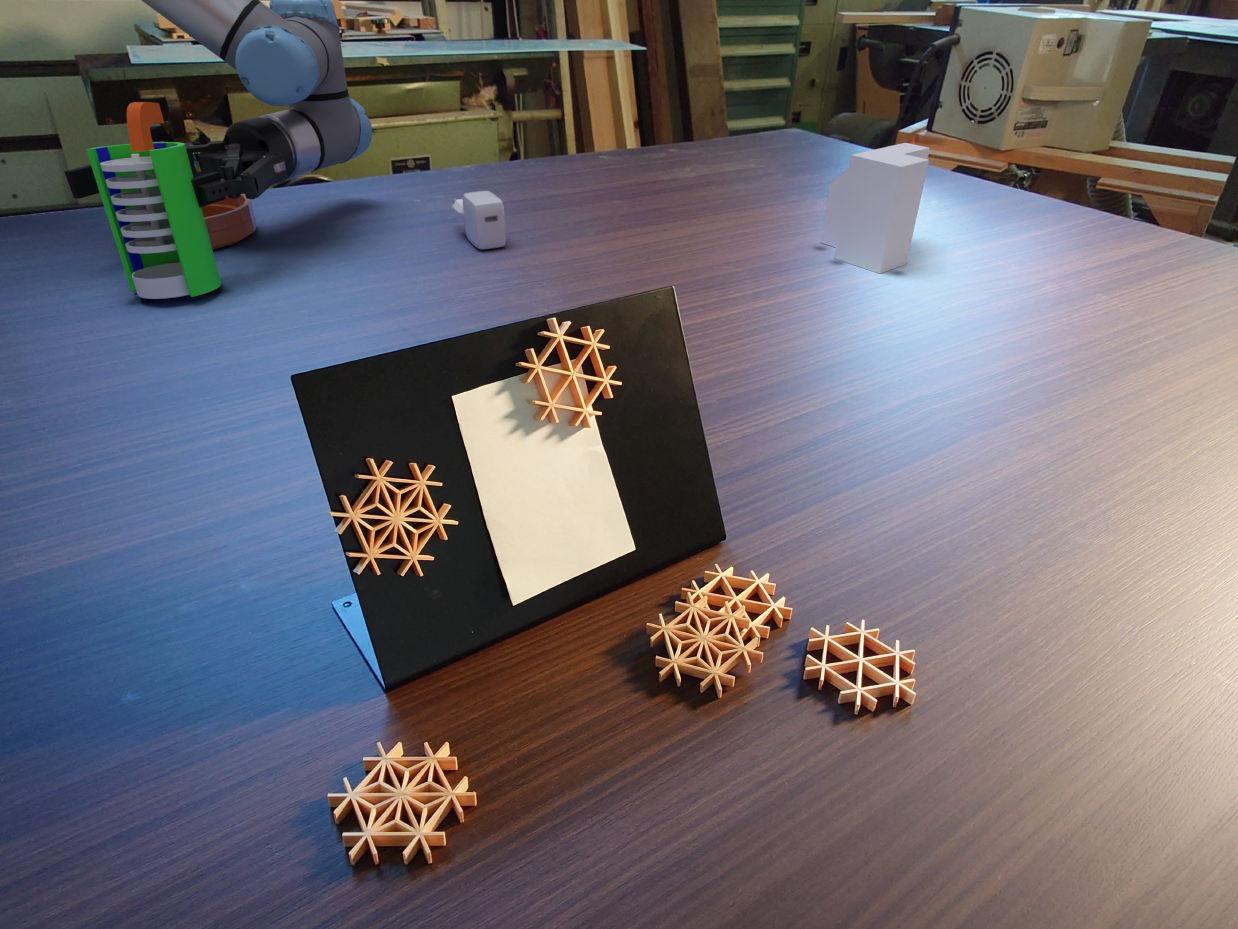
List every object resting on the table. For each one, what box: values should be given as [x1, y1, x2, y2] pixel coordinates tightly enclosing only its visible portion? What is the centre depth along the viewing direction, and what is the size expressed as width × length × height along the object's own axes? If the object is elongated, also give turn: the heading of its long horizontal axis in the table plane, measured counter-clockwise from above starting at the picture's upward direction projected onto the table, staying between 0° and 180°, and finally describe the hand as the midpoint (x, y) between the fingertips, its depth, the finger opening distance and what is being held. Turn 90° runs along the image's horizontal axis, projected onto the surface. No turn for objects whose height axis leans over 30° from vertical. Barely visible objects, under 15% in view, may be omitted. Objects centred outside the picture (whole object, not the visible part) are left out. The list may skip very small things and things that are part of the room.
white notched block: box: [820, 142, 931, 274], centre depth 97 cm, size 11×11×12 cm
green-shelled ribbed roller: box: [85, 101, 222, 300], centre depth 82 cm, size 9×8×18 cm
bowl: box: [201, 194, 258, 250], centre depth 100 cm, size 14×14×4 cm
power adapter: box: [452, 190, 507, 250], centre depth 101 cm, size 11×5×6 cm, turn 26°
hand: (118, 193), depth 81 cm, fingers open, 13 cm apart
